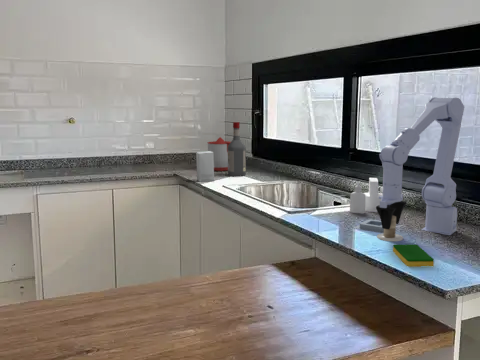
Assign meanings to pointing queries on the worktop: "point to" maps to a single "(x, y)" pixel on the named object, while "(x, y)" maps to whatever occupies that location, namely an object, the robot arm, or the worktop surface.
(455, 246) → the worktop surface
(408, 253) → the dish sponge
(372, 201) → the base with upright slab
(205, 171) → the skincare box
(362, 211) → the eye dropper bottle
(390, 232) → the dowel
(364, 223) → the pocket block
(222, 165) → the citrus juicer
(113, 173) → the worktop surface
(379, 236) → the coaster
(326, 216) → the worktop surface
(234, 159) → the liquor
